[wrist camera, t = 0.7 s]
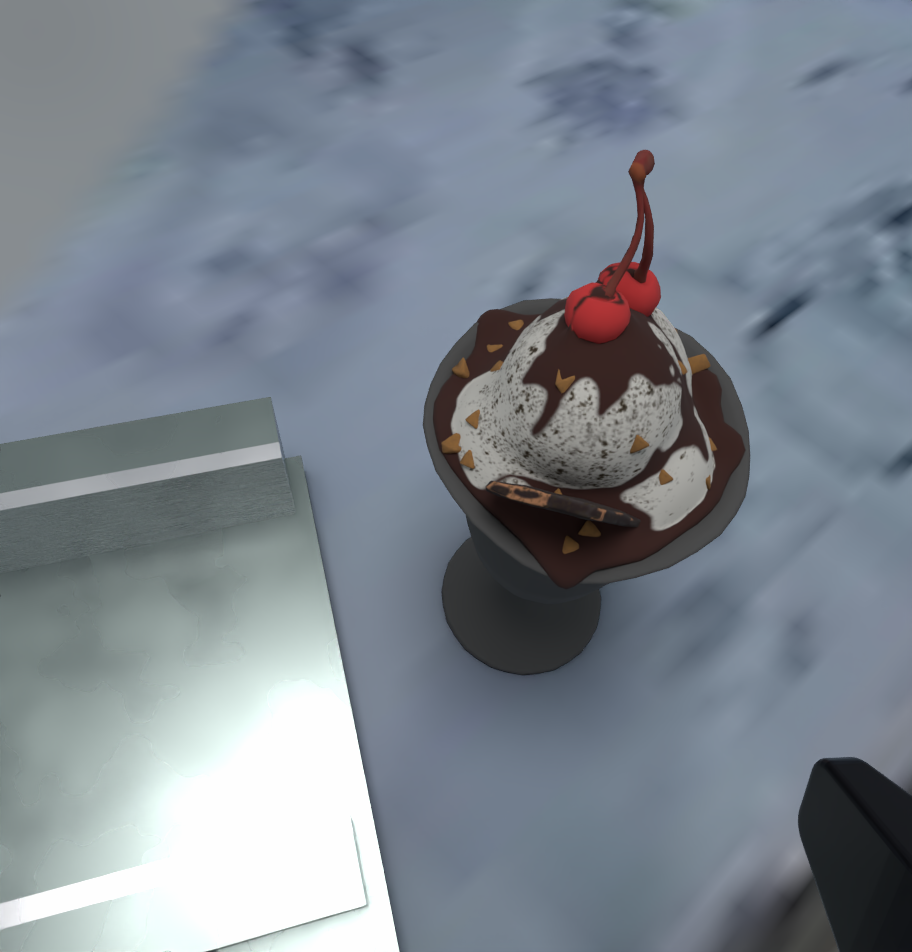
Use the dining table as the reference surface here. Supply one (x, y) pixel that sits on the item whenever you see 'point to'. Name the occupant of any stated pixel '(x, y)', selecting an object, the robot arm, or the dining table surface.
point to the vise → (175, 700)
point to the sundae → (578, 457)
